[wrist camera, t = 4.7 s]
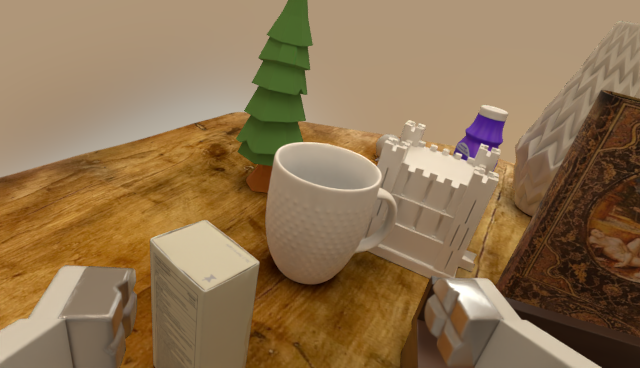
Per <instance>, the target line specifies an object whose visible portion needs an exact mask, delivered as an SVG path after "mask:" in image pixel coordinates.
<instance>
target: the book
mask: <svg viewBox="0 0 640 368" xmlns="http://www.w3.org/2000/svg"><path fill="white" fill-rule="evenodd" d="M495 287H496V288H497V289H498V291H499V292H500V293H501V294H502V296H503V297H506V298H509V299H513V300H516V301H519V302H523V303H526V304H529V305H533V306H536V307H539V308H543V309H546V310H549V311H553V312H556V313H560V314H563V315H566V316H570V317H573V318H576V319H580V320H583V321H586V322H590V323H593V324H596V325H600V326H603V327H606V328H610V329H613V330H616V331H620V332H623V333H626V334H630V335H633V336H636V337H640V98H636V97H632V96H628V95H624V94H620V93H617V92H613V91H608V90H601V91H600V93H599V95H598V96H597V98H596V100H595V102H594V104H593V106H592V108H591V109H590V111H589V113H588V115H587V117H586V119H585V121H584V122H583V124H582V126H581V128H580V130H579V132H578V134H577V135H576V137H575V139H574V141H573V143H572V145H571V147H570V148H569V150H568V152H567V154H566V156H565V158H564V160H563V161H562V163H561V165H560V167H559V169H558V171H557V173H556V174H555V176H554V178H553V180H552V182H551V184H550V186H549V187H548V189H547V191H546V193H545V195H544V197H543V199H542V200H541V202H540V204H539V206H538V208H537V210H536V212H535V213H534V215H533V217H532V219H531V221H530V223H529V225H528V227H527V228H526V230H525V232H524V234H523V236H522V238H521V240H520V241H519V243H518V245H517V247H516V249H515V251H514V253H513V254H512V256H511V258H510V260H509V262H508V264H507V266H506V267H505V269H504V271H503V273H502V275H501V277H500V279H499V280H498V282H497V284H496V286H495Z"/></svg>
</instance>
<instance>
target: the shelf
mask: <svg viewBox="0 0 640 368" xmlns="http://www.w3.org/2000/svg"><path fill="white" fill-rule="evenodd" d="M438 278H439V277H436V276H431V278H430V280H429V282H428V285H427V287H426V289H425V292H424V294H423V296H422V299H421V301H420V303H419V305H418V308H417V310H416V312H415V315H414V317H413V319H412V329H411V331H410V333H409V336H408V338H407V340H406V343H405V345H404V347H403V349H402V352H401V368H475V366H447V365H446V363H445V362H444V360H443V358H442V356H441V354H440V352H439V350H438V348H437V342H438V339H437V338H436V337H435V336H434V335H432V334H431V333H430V332H429V330H428V327H427V325H426V322H425V306H426V303H427V300H428V299H429V298H430V297H431V296H433V295H434V294H435V293H434V290H433V286H434V283H435V281H436V280H437V279H438ZM504 298H505V299H506V301H507V302H508V303H509V305H510V306H511V307H512V308H513V310H514V311H515V312H516V313H517V315H518V316H519V317H520V319H521V320H527V321H529V322H530V323H532V324H533V325H535V326H536V327H538V328H540V329H541V330H543V331H544V332H546V333H548V334H549V335H551V336H552V337H554V338H555V339H557V340H559V341H560V342H562V343H563V344H565V345H567V346H568V347H570V348H571V349H573V350H574V351H576V352H578V353H579V354H581V355H582V356H584V357H586V358H587V359H589V360H590V361H592V362H593V363H595V364H597V365H598V366H600V367H601V368H640V337H636V336H633V335H630V334H626V333H623V332H620V331H616V330H613V329H610V328H606V327H603V326H600V325H596V324H593V323H590V322H586V321H583V320H580V319H576V318H573V317H570V316H566V315H563V314H560V313H556V312H553V311H549V310H546V309H543V308H539V307H536V306H533V305H529V304H526V303H523V302H519V301H516V300H513V299H509V298H506V297H504Z"/></svg>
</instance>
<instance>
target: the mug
mask: <svg viewBox="0 0 640 368" xmlns="http://www.w3.org/2000/svg"><path fill="white" fill-rule="evenodd" d="M381 180H382V174H381V172H380V170H379V168H378V167H377V166H376V165H375V164H374V163H372V162H371V161H370V160H368V159H367V158H365V157H363V156H361V155H359V154H357V153H355V152H353V151H350V150H347V149H344V148H341V147H337V146H333V145H329V144H323V143H314V142H298V143H291V144H287V145H284V146H282V147H281V148H279V149H278V150H277V152H276V154H275V156H274V162H273V168H272V172H271V178H270V184H269V190H268V199H267V207H266V215H265V216H266V223H265V224H266V236H267V239H268V241H267V242H268V246H269V249H270V253H271V256H272V258H273V260H274V262H275V264H276V266H277V267H278V269H279V270H280V271H281V272H282V273H283V274H284V275H285V276H286V277H288V278H289V279H291V280H293V281H295V282H298V283H302V284H319V283H323V282H325V281H327V280H329V279H331V278H332V277H334V276H335V275H336V274H337V273H338V272H340V271H341V269H343V268H344V266H345V265H346V264H347V262H348V261H349V260H350V259H351V257H352V256H353V255H354V253H359V252H364V251H367V250H369V249H372V248H374V247H376V246H378V245H379V244H380V243H382V242H383V241H384V240H385V239H386V238H387V237H388V236H389V234H390V233H391V231H392V230H393V228H394V226H395V223H396V220H397V205H396V202H395V200H394V198H393V197H392V195H391V194H390V193H389V192H387V191H386V190H384V189H382V188H380V184H381ZM376 200H384V201H386V202H387V205H388V211H387V215H386V218H385V221H384V223H383V224H382V226H381V227H380V228H379V229H378V230H377V231H376V232H375V233H374V234H373V235H371V236H370V237H368V238H366V239H364V240H362V238H363V236H364V233H365V231H366V229H367V225H368V223H369V221H370V218H371V214H372V212H373V208H374V205H375V201H376Z"/></svg>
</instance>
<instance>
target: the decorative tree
mask: <svg viewBox="0 0 640 368" xmlns="http://www.w3.org/2000/svg"><path fill="white" fill-rule="evenodd" d="M267 35H268V36H270V38H269V39H268V41H267V43H266V45H265V47H264V49H263V50H262V52H261V54H260V56H259V59H261V60H263V63H262V65H261V66H260V68H259V70H258V72H257V74H256V76H255V78H254V79H253V81H252V83H254V84H257V85H259V87H258V88H257V90H256V92H255V93H254V95H253V97H252V98H251V100H250V102H249V103H248V105H247V107H246V109H245V110H244V111H245V112H247V113H249V114H250V115H251V116H250V117H249V119H248V120H247V122H246V124H245V125H244V127H243V128H242V130H241V132H240V133H239V135H238V136H237V138H236V139H237V140H238V141H239V142H242V144H241V146H240V148H239V150H238V153H240V154H241V155H243V156H244V157H246V158H247V159H248V160H250V161H251V162H253V163H254V164H258V166H257V167H256V169H255V170H254V171H253V172H252V173H251V174H250V175H249V176H248V177H247V178H246V183H247V184H248V186H249V187H250V188H251V190H252V191H257V192H266V193H268V190H269V184H270V178H271V172H272V168H273V162H274V156H275V154H276V152H277V150H278V149H279V148H281V147H282V146H284V145H287V144H291V143H298V142H303V139H302V136H301V132H300V129H299V125H298V121H305V120H306V119H305V114H304V109H303V104H302V100H301V95H300V94H304V95H306V94H307V88H306V78H305V70H310V64H309V55H308V46H312V45H313V44H312V39H311V33H310V27H309V21H308V6H307V0H288V2H287V4H286V6H285V8H284V10H283V12H282V13H281V15H280V16H279V17H278V19H277V21H276V22H275V23H274V25H273V26H272V28H271V29H270V31H269V32H268V34H267Z"/></svg>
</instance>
